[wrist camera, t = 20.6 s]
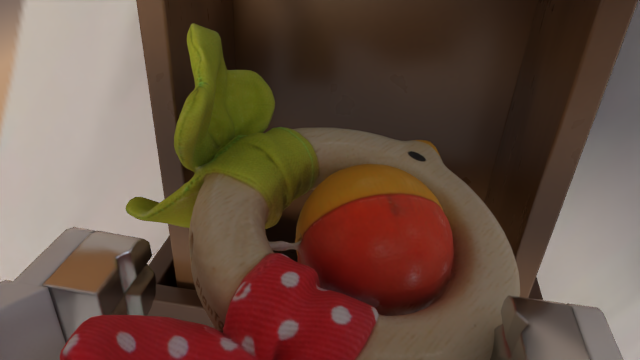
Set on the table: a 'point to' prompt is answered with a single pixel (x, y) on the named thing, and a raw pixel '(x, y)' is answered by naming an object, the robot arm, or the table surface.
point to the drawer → (410, 90)
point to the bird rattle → (313, 241)
